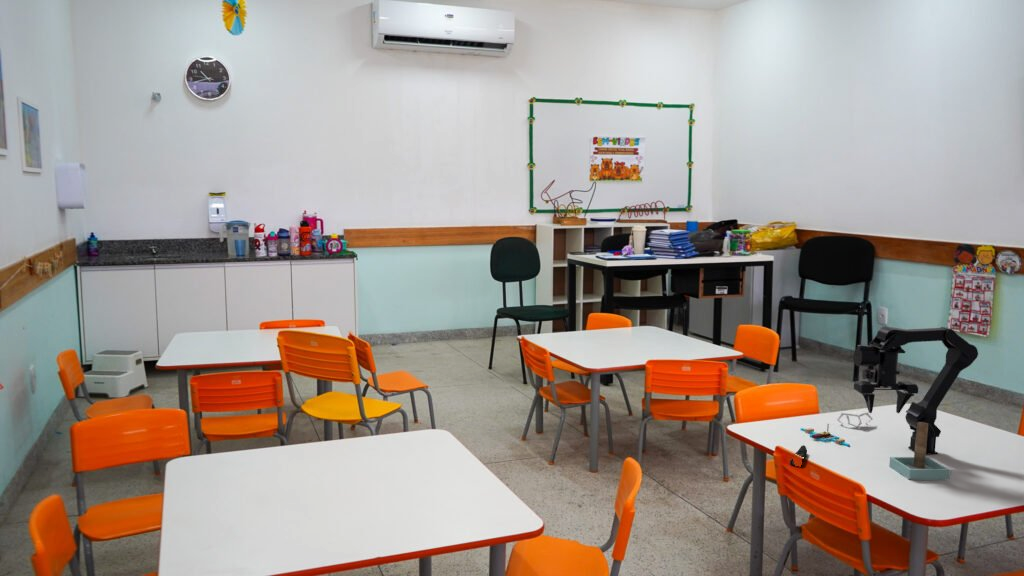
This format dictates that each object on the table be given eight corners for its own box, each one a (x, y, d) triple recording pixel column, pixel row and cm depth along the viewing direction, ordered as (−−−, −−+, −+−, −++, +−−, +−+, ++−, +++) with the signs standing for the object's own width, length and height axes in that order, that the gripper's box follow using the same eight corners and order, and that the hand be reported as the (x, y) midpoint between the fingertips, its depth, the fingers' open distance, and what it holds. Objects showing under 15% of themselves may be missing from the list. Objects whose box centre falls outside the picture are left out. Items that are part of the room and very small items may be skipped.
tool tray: (927, 466, 233) (927, 457, 232) (948, 479, 222) (949, 469, 221) (889, 466, 232) (890, 457, 232) (909, 479, 221) (910, 469, 221)
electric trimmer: (809, 455, 243) (810, 445, 243) (801, 468, 230) (802, 458, 230) (797, 453, 245) (798, 443, 245) (789, 466, 232) (789, 456, 232)
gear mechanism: (837, 450, 249) (856, 446, 253) (838, 434, 248) (857, 430, 252) (790, 433, 266) (809, 429, 271) (791, 418, 266) (810, 415, 270)
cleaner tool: (913, 465, 231) (916, 419, 229) (933, 471, 226) (937, 424, 225) (903, 469, 227) (907, 422, 226) (924, 475, 223) (928, 427, 221)
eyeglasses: (853, 431, 268) (854, 417, 268) (835, 424, 276) (836, 411, 276) (878, 427, 273) (879, 414, 272) (859, 421, 281) (860, 408, 280)
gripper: (901, 360, 251) (898, 406, 253) (847, 360, 251) (844, 406, 252) (921, 368, 240) (917, 415, 242) (864, 368, 239) (860, 415, 241)
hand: (883, 412), depth 245 cm, fingers open, 9 cm apart
